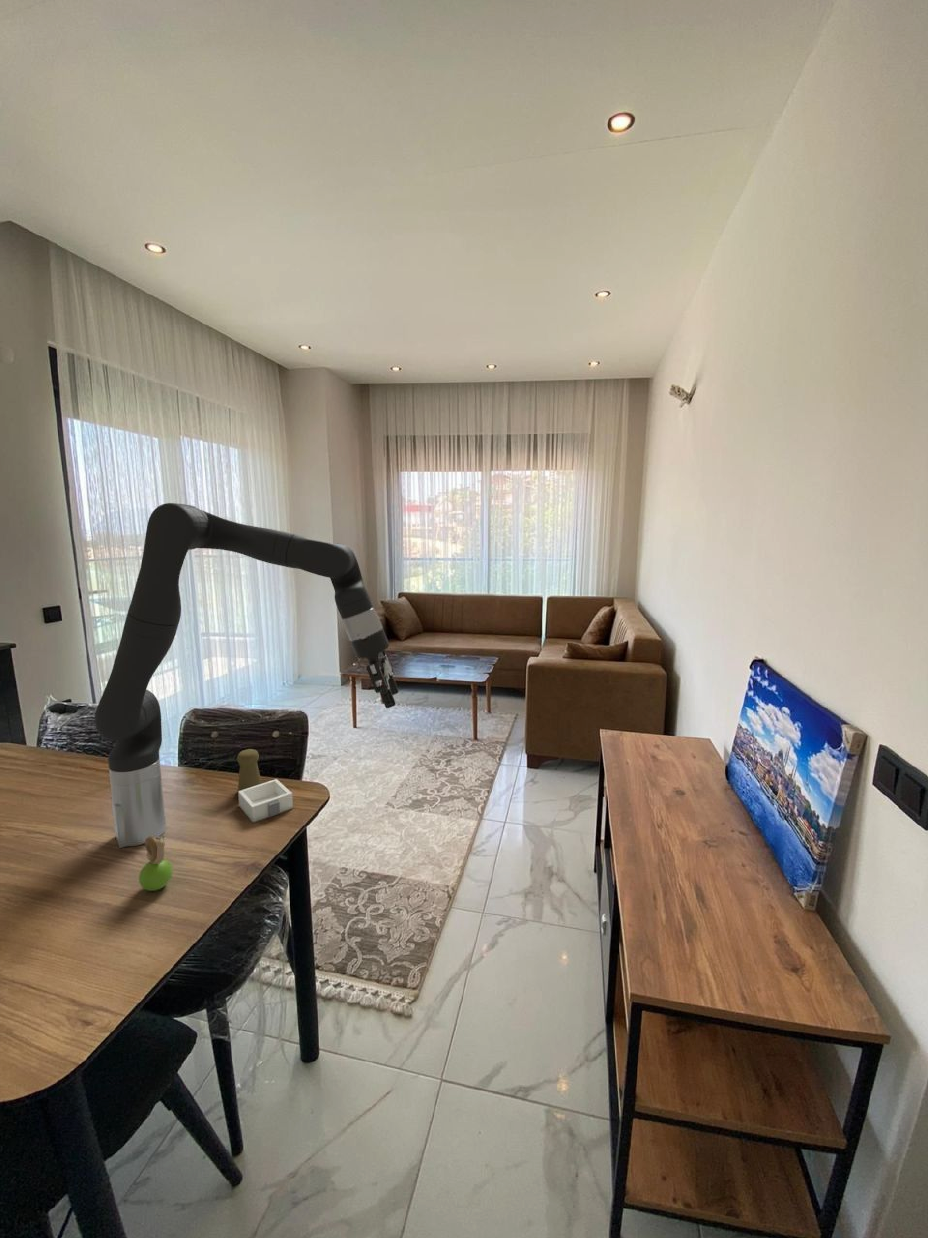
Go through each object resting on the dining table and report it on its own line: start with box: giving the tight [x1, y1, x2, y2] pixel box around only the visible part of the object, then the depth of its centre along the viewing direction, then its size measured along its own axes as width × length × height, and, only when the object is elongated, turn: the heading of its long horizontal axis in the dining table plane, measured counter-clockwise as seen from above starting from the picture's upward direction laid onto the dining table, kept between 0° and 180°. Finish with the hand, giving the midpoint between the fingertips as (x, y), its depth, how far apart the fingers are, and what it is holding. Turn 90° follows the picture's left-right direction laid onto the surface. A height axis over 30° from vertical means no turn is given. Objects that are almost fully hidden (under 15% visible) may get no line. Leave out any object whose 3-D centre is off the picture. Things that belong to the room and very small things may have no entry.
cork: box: [236, 748, 262, 792], centre depth 128 cm, size 6×6×11 cm
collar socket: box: [237, 778, 294, 823], centre depth 121 cm, size 10×11×4 cm
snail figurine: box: [138, 834, 173, 892], centre depth 92 cm, size 5×6×12 cm
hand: (392, 700), depth 108 cm, fingers open, 8 cm apart
